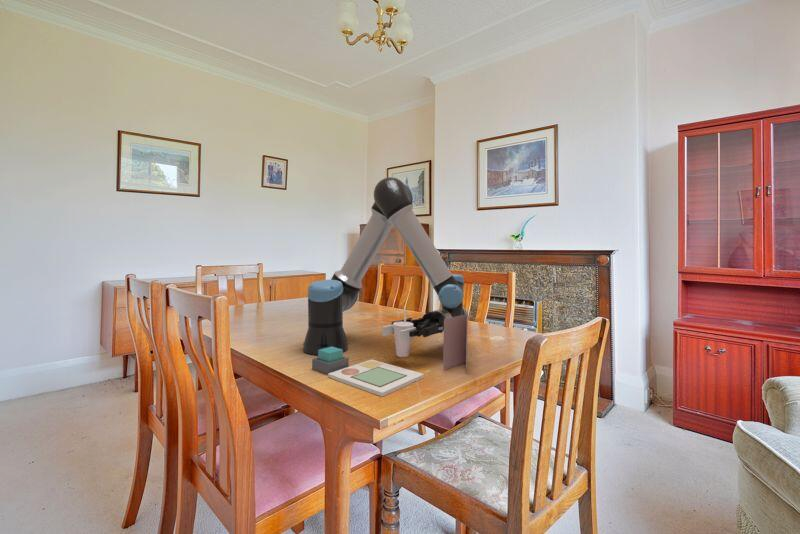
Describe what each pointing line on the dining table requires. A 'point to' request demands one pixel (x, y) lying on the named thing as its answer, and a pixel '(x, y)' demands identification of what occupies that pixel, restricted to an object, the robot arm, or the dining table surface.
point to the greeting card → (455, 341)
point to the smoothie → (401, 345)
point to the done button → (330, 354)
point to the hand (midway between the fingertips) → (391, 333)
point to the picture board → (376, 377)
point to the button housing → (329, 365)
